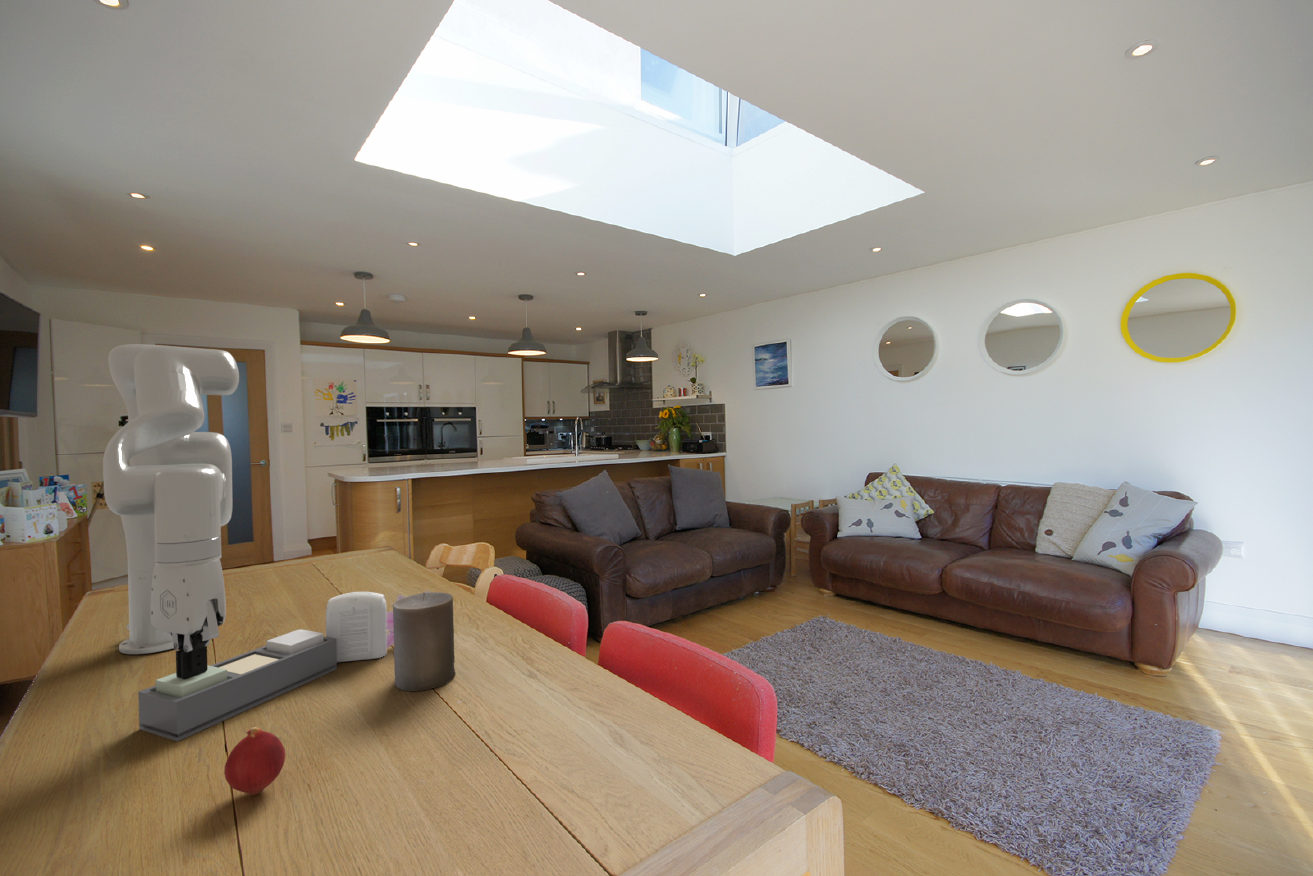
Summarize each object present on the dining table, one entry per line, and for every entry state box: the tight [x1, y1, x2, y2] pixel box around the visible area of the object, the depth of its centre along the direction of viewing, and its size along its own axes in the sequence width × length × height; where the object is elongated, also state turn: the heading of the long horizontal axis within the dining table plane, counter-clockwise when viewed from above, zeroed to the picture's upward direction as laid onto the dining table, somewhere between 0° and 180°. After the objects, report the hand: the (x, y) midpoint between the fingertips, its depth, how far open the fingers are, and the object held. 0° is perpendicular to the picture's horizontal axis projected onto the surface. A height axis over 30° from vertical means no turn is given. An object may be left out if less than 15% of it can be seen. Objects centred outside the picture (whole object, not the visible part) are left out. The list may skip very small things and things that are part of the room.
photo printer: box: [325, 591, 388, 663], centre depth 106 cm, size 10×4×12 cm, turn 106°
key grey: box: [266, 628, 325, 655], centre depth 99 cm, size 6×6×4 cm
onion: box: [223, 726, 286, 796], centre depth 67 cm, size 6×6×8 cm
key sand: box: [219, 654, 279, 675], centre depth 91 cm, size 6×6×4 cm
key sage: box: [155, 664, 227, 698], centre depth 84 cm, size 6×6×4 cm
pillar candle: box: [392, 591, 456, 692], centre depth 97 cm, size 10×10×15 cm
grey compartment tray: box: [137, 636, 338, 742], centre depth 91 cm, size 9×25×6 cm, turn 159°
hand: (192, 674), depth 84 cm, fingers closed
